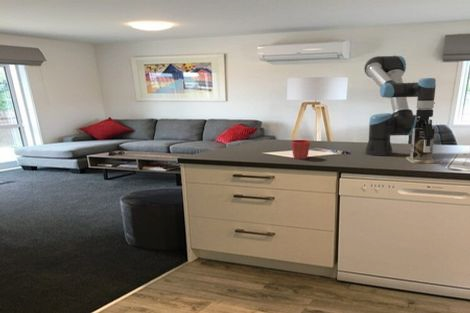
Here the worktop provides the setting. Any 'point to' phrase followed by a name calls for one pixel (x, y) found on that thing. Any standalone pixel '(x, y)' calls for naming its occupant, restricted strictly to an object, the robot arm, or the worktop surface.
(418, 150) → the coffee box
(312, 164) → the worktop surface
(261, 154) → the worktop surface
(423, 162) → the beige square napkin
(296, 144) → the flower pot
